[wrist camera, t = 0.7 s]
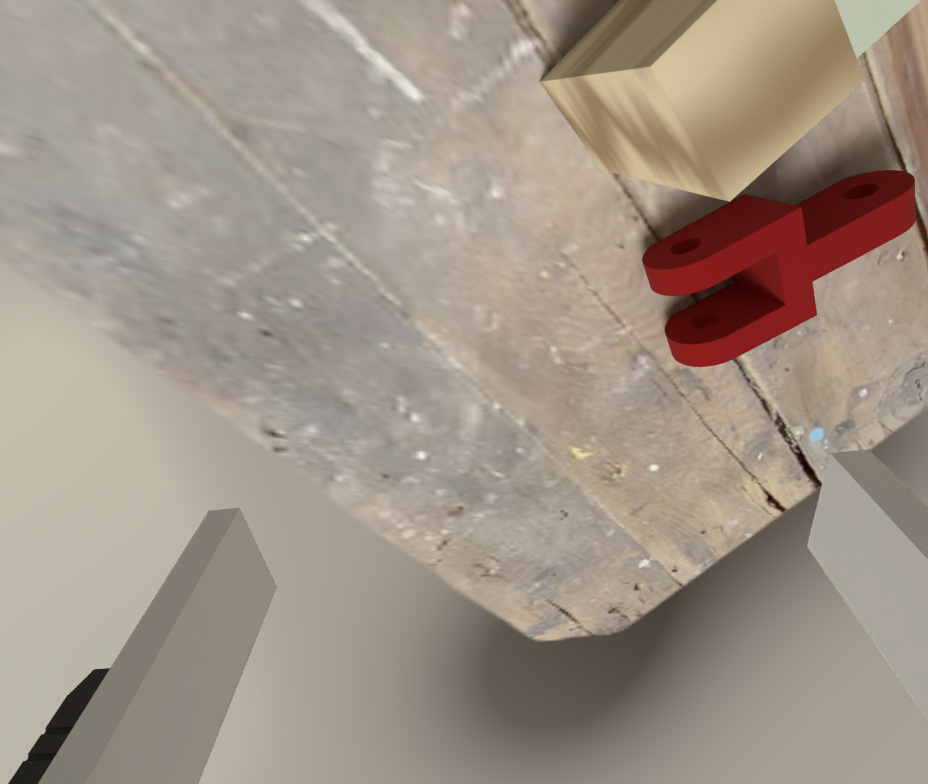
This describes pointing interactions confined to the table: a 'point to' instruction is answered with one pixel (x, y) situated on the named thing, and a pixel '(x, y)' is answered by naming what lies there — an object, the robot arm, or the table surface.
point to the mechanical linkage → (770, 261)
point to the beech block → (703, 87)
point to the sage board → (870, 19)
